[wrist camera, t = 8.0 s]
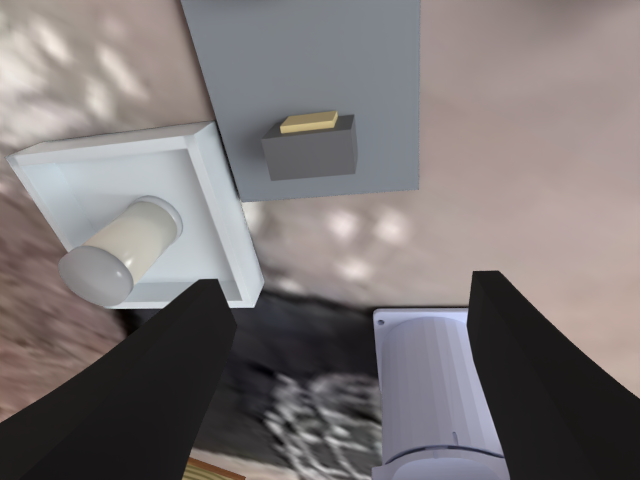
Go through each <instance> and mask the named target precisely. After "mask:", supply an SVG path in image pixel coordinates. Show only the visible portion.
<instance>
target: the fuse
mask: <svg viewBox="0 0 640 480" xmlns="http://www.w3.org/2000/svg"><path fill="white" fill-rule="evenodd" d="M182 232H183V221H182V218H181V216H180V214H179V213H178V211H177V210H176V209H175V208H174V207H173V206H172V205H171V204H170V203H168V202H167V201H165V200H164V199H161V198H159V197H156V196H150V195H147V196H141V197H139V198H137V199H136V200H135V201H133V202H132V203H131V204H130V205H129V206H128V207H127V209H126V210H125V211H124V212H122V213H121V214H120V215H119V216H117V217H116V218H115V219H114V220H112V221H111V222H110V223H109V224H107V225H106V226H105V227H104V228H102V229H101V230H100V231H99V232H97V233H96V234H95V235H93V236H92V237H91V238H90V239H88V240H87V241H86V242H85V243H83V244H82V245H81V246H79V247H76V248H74V249H72V250H71V251H70V252H68V253H67V254H66V255H65V256H63V257H62V258H61V260H60V261H59V265H58V269H59V273H60V276H61V278H62V280H63V281H64V282H65V284H66V285H67V286H68V287H69V288H70V289H71V290H72V291H73V292H74V293H76V294H77V295H78V296H80V297H81V298H83V299H85V300H87V301H89V302H91V303H94V304H97V305H101V306H116V305H119V304H121V303H122V302H123V301H124V300H125V299H126V298H127V297H128V295H129V294H130V293H131V292H132V290H133V287H134V285H135V284H136V283H137V282H138V281H139V280H140V279H141V278H142V276H143V275H144V274H145V273H146V272H147V271H148V270H149V268H150V267H151V266H152V265H153V264H154V263H155V262H156V261H157V259H158V258H159V257H160V256H161V255H162V254H163V253H164V251H165V250H166V249H167V248H168V247H169V246H170V245H172V244H173V243H175V241H176V240H177V239H178V238H179V237H180V236H181V234H182Z"/></svg>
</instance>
